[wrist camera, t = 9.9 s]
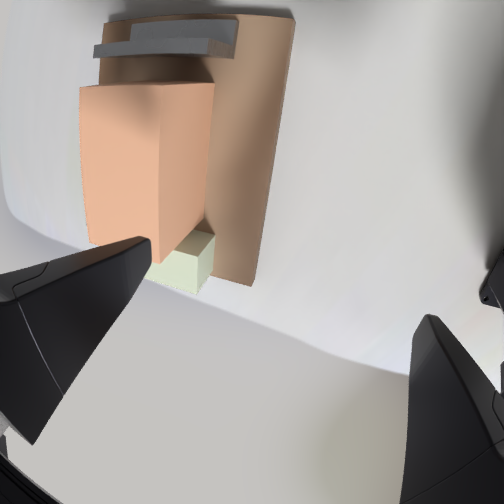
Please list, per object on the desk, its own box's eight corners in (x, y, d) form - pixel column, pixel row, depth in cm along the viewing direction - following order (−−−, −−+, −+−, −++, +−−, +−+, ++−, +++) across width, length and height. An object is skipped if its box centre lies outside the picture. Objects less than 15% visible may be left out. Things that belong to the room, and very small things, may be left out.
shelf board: (295, 22, 14) (293, 18, 14) (254, 279, 24) (251, 286, 23) (112, 24, 16) (104, 23, 16) (111, 238, 26) (105, 244, 25)
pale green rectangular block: (215, 234, 22) (197, 256, 19) (212, 270, 23) (196, 294, 21) (130, 214, 23) (107, 231, 20) (132, 247, 24) (111, 266, 22)
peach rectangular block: (215, 83, 17) (162, 85, 12) (203, 218, 21) (159, 264, 16) (143, 80, 17) (79, 87, 12) (141, 204, 22) (89, 242, 17)
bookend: (239, 21, 14) (213, 7, 11) (234, 59, 16) (206, 53, 12) (137, 24, 15) (97, 19, 12) (133, 57, 17) (93, 58, 13)
